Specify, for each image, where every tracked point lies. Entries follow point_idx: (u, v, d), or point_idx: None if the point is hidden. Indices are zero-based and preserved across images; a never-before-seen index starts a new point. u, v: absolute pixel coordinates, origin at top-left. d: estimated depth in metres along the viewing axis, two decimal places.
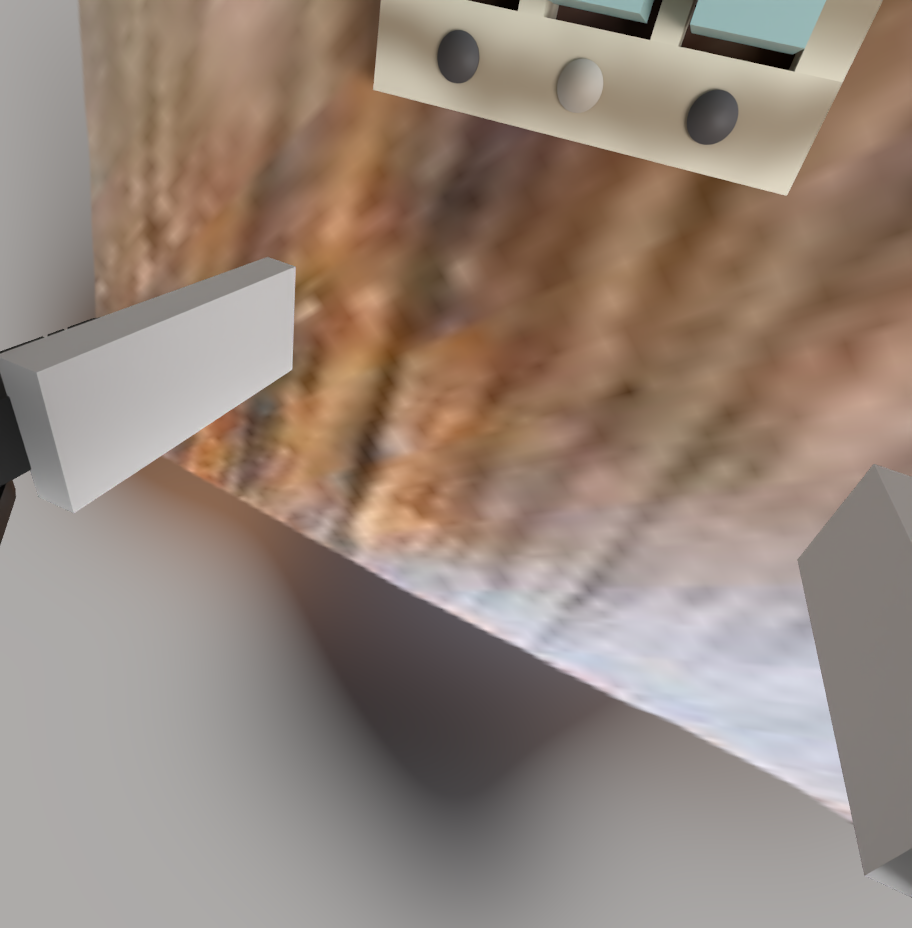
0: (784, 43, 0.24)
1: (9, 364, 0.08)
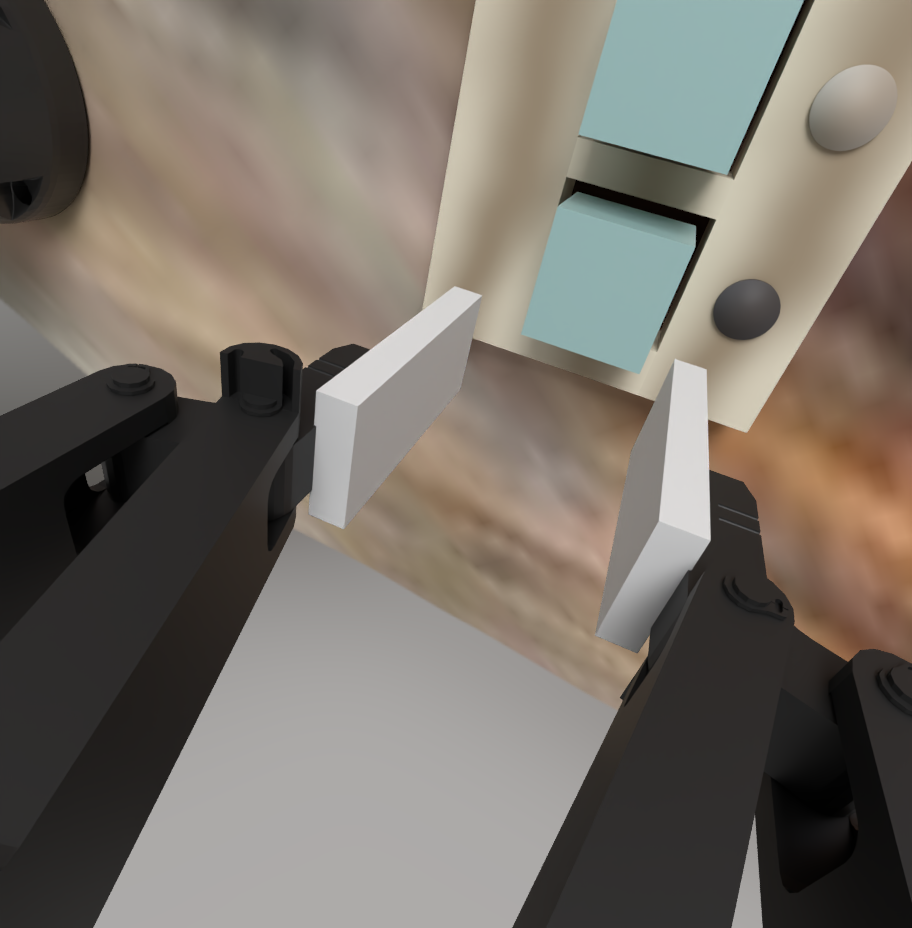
0: None
1: (328, 398, 0.09)
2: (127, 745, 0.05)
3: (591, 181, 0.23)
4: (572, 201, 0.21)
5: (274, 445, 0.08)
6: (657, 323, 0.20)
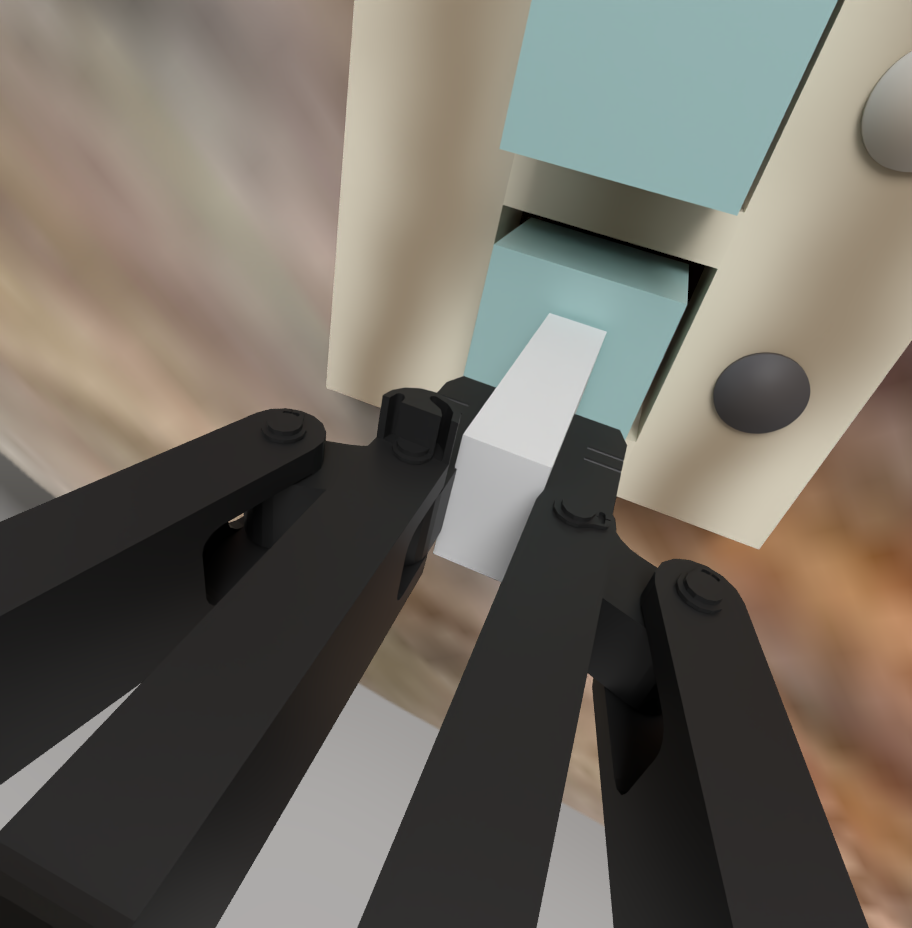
0: None
1: (474, 442, 0.09)
2: (246, 806, 0.05)
3: (538, 211, 0.16)
4: (519, 234, 0.15)
5: (421, 497, 0.08)
6: (635, 403, 0.15)
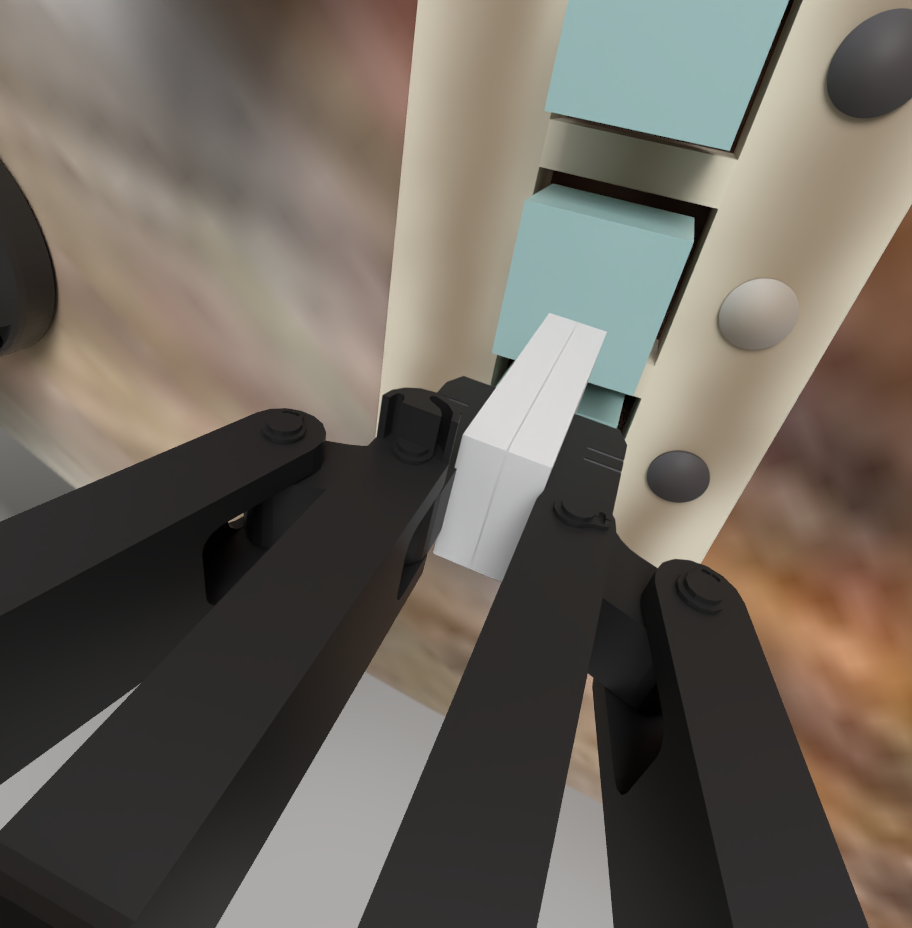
0: None
1: (474, 442, 0.09)
2: (246, 805, 0.05)
3: None
4: None
5: (421, 497, 0.08)
6: None
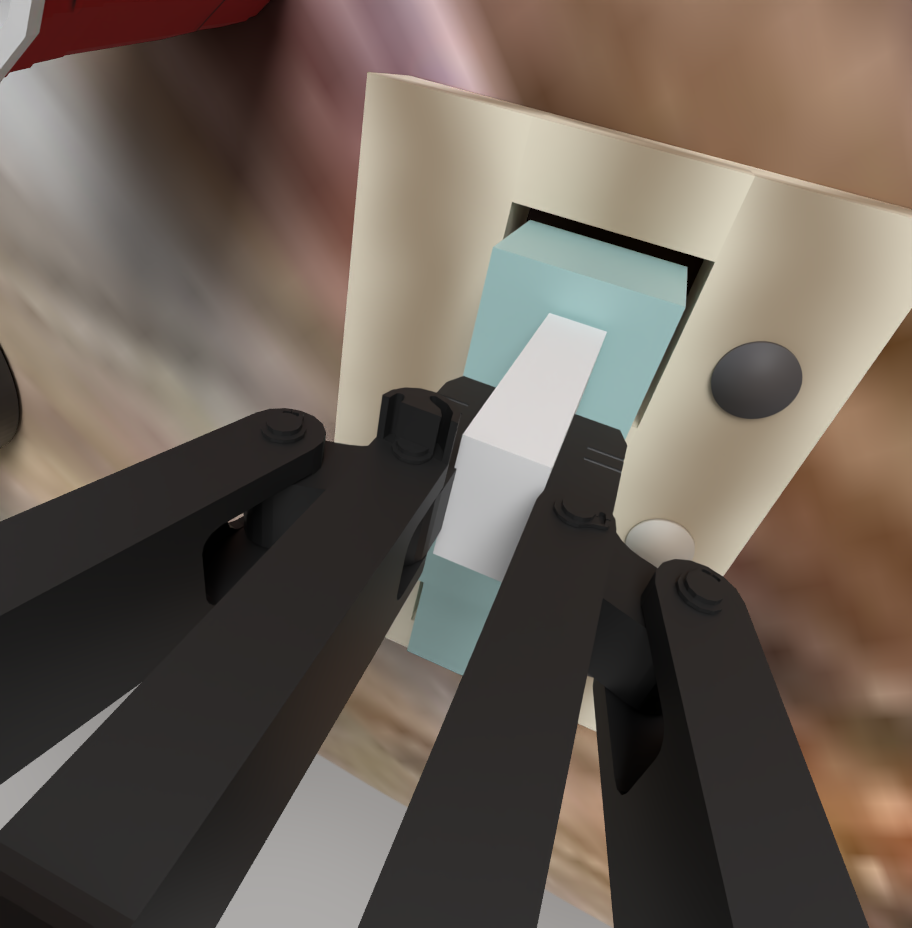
0: (669, 339, 0.14)
1: (474, 442, 0.09)
2: (246, 804, 0.05)
3: None
4: None
5: (421, 497, 0.08)
6: None
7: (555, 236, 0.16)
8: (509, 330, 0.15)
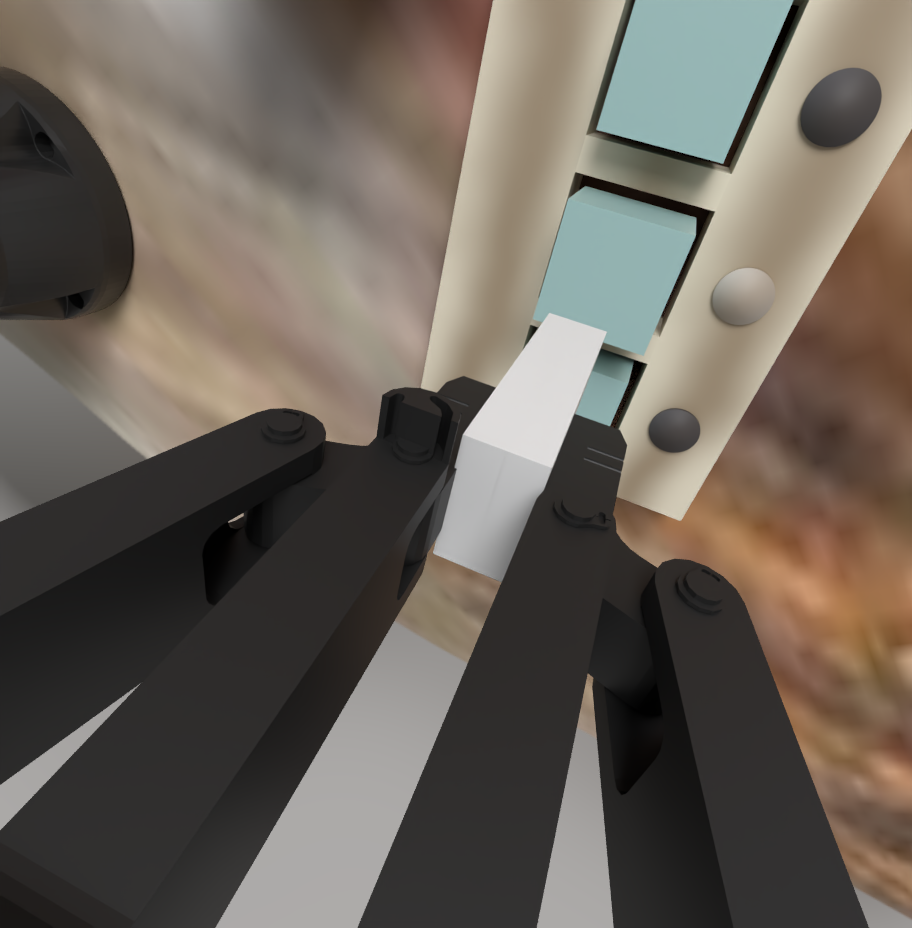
0: (780, 29, 0.18)
1: (474, 442, 0.09)
2: (244, 806, 0.05)
3: None
4: None
5: (421, 497, 0.08)
6: None
7: None
8: (651, 42, 0.20)
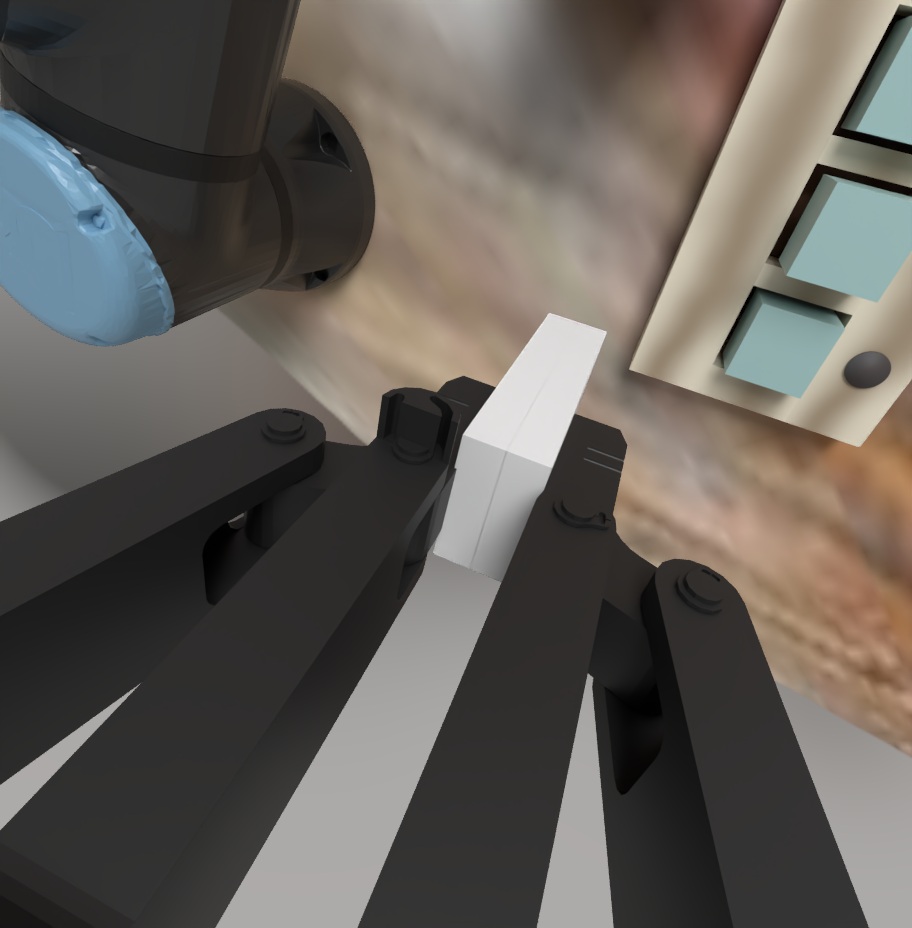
0: None
1: (474, 442, 0.09)
2: (244, 805, 0.05)
3: (770, 289, 0.35)
4: (764, 297, 0.35)
5: (421, 497, 0.08)
6: (816, 369, 0.35)
7: None
8: None
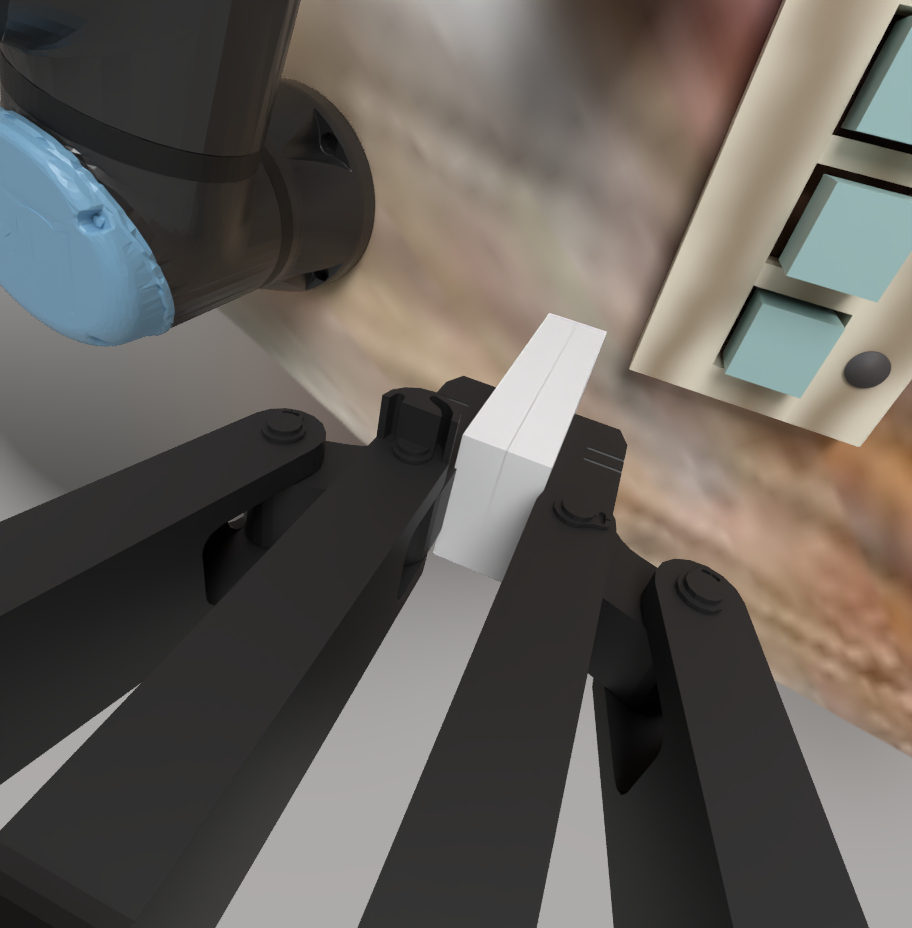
0: None
1: (473, 442, 0.09)
2: (246, 805, 0.05)
3: (770, 289, 0.35)
4: (764, 297, 0.35)
5: (421, 496, 0.08)
6: (816, 369, 0.35)
7: None
8: None
